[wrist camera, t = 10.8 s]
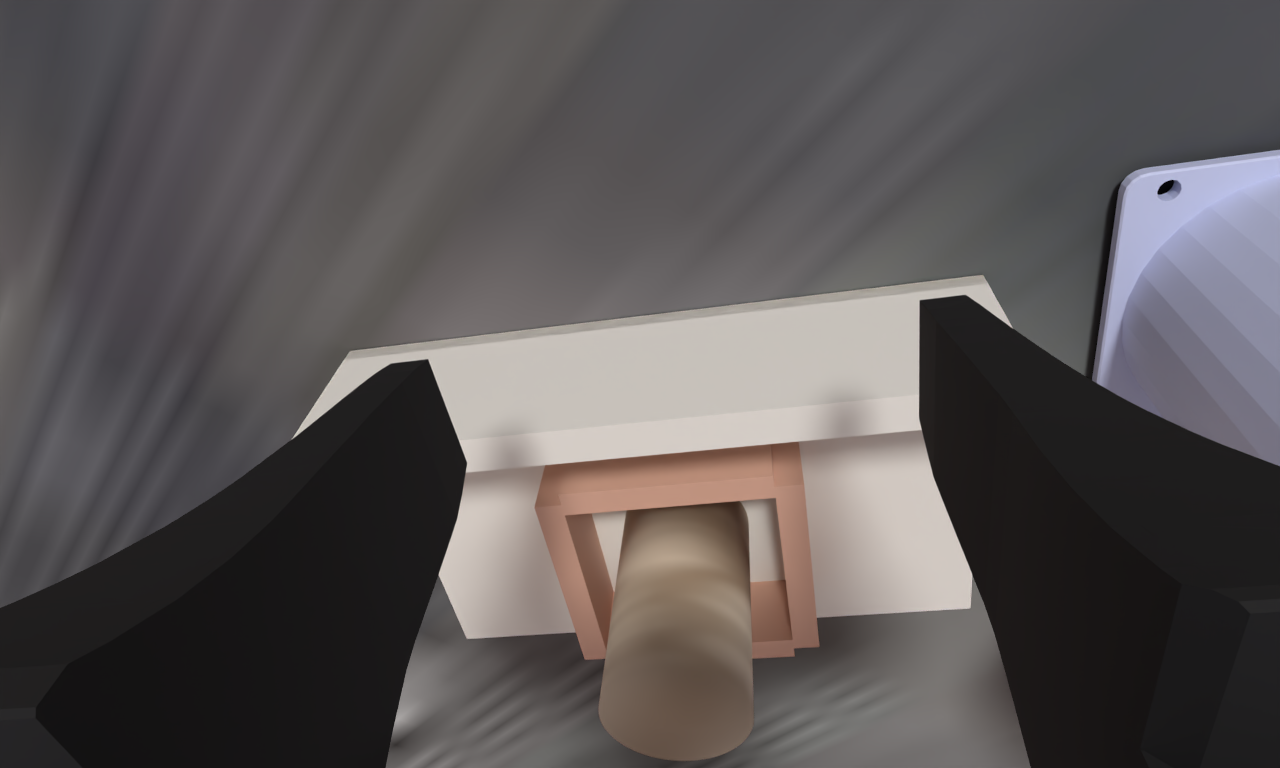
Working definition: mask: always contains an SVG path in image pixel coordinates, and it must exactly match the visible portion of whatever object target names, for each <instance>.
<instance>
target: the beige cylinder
mask: <svg viewBox="0 0 1280 768" xmlns="http://www.w3.org/2000/svg"><path fill="white" fill-rule="evenodd" d="M598 711H599V717H600V720H601V723H602V725H603V726H604V728H605V729H606V731H607V732H608V733H609V734H610V735H611V736H612V737H613V738H614V739H615V740H617V741H618V742H619V743H621V744H622V745H624V746H626V747H627V748H629V749H631V750H634V751H636V752H638V753H641V754H644V755H647V756H650V757H654V758H659V759H665V760H673V761H694V760H703V759H709V758H713V757H716V756H720V755H722V754H725V753H727V752H729V751H731V750H733V749H735V748H736V747H738V746H739V745H740V744H741V743H743V742H744V741H745V740H746V738H747V737H748V736H749V734H750V732H751V731H752V728H753V724H754V700H753V663H752V626H751V589H750V552H749V522H748V516H747V513H746V510H745V508H744V506H743V505H742V503H741V502H740V501H733V502H721V503H709V504H697V505H685V506H673V507H661V508H649V509H637V510H627V511H626V516H625V523H624V530H623V537H622V544H621V551H620V558H619V565H618V572H617V579H616V586H615V594H614V601H613V608H612V615H611V622H610V629H609V636H608V643H607V650H606V657H605V664H604V671H603V679H602V686H601V693H600V700H599V708H598Z"/></svg>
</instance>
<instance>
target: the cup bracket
mask: <svg viewBox="0 0 1280 768" xmlns="http://www.w3.org/2000/svg"><path fill="white" fill-rule="evenodd" d="M959 295H967V296H968V297H970V298H971V299H973V300H974V301H976V302H977V303H979V304H980V305H981V306H983V307H984V308H985V309H987V310H988V311H990V312H991V313H992V314H994V315H995V316H996V317H998V318H999V319H1000V320H1002V321H1003V322H1005V323H1006V324H1007V325H1009V326H1010V327H1012V326H1011V324H1010V322H1009V320H1008V319H1007V317H1006V315H1005V313H1004V312H1003V310H1002V308H1001V306H1000V304H999V303H998V301H997V299H996V297H995V295H994V294H993V292H992V290H991V288H990V286H989V285H988V283H987V281H986V279H985V278H984V276H983V275H978V276H969V277H961V278H953V279H944V280H936V281H928V282H919V283H911V284H903V285H894V286H886V287H878V288H870V289H861V290H853V291H845V292H836V293H828V294H820V295H811V296H803V297H795V298H786V299H778V300H770V301H761V302H753V303H745V304H737V305H728V306H720V307H712V308H703V309H695V310H687V311H678V312H670V313H662V314H653V315H645V316H637V317H629V318H620V319H612V320H604V321H595V322H587V323H579V324H570V325H562V326H554V327H545V328H537V329H529V330H520V331H512V332H504V333H496V334H487V335H479V336H471V337H462V338H454V339H446V340H437V341H429V342H421V343H412V344H404V345H396V346H387V347H379V348H371V349H363V350H354V351H350V352H349V353H348V355H347V356H346V358H345V359H344V361H343V362H342V364H341V365H340V367H339V368H338V370H337V371H336V373H335V374H334V376H333V377H332V379H331V380H330V382H329V384H328V385H327V387H326V388H325V390H324V391H323V393H322V394H321V396H320V397H319V399H318V400H317V402H316V403H315V405H314V406H313V408H312V409H311V411H310V412H309V414H308V416H307V417H306V419H305V420H304V422H303V423H302V425H301V426H300V428H299V429H298V431H297V432H296V434H295V435H294V437H296V436H297V435H298V434H299V433H301V432H302V431H303V430H304V429H306V428H307V427H308V426H309V425H311V424H312V423H313V422H314V421H316V420H317V419H318V418H319V417H321V416H322V415H323V414H324V413H326V412H327V411H328V410H329V409H331V408H332V407H333V406H334V405H336V404H337V403H338V402H339V401H340V400H342V399H343V398H344V397H345V396H347V395H348V394H349V393H350V392H352V391H353V390H354V389H355V388H357V387H358V386H359V385H361V384H362V383H363V382H364V381H366V380H367V379H368V378H370V377H371V376H373V375H374V374H375V373H377V372H378V371H380V370H381V369H383V368H384V367H386V366H387V365H389V364H391V363H399V362H407V361H416V360H424V359H428V360H429V363H430V366H431V368H432V371H433V373H434V376H435V379H436V381H437V384H438V387H439V389H440V392H441V395H442V397H443V400H444V403H445V405H446V408H447V411H448V413H449V416H450V418H451V421H452V424H453V426H454V429H455V432H456V434H457V437H458V440H459V442H460V445H461V448H462V450H463V453H464V456H465V458H466V461H467V468H466V474H465V480H464V486H463V492H462V497H461V502H460V507H459V512H458V517H457V521H456V524H455V527H454V530H453V533H452V536H451V539H450V542H449V545H448V548H447V551H446V554H445V557H444V560H443V563H442V566H441V569H440V572H439V577H440V579H441V581H442V583H443V586H444V588H445V590H446V592H447V595H448V597H449V599H450V601H451V604H452V606H453V608H454V611H455V613H456V615H457V617H458V620H459V622H460V624H461V626H462V629H463V631H464V633H465V635H466V638H467V639H475V638H491V637H508V636H524V635H540V634H557V633H573V632H576V634H577V637H578V640H579V644H580V647H581V650H582V653H583V656H584V659H585V660H592V659H605V657H606V650H607V643H608V636H609V629H610V622H611V615H612V608H613V601H614V594H615V586H616V579H617V572H618V565H619V558H620V551H621V544H622V537H623V530H624V523H625V516H626V511H627V510H637V509H649V508H661V507H673V506H685V505H697V504H709V503H721V502H733V501H740V502H741V503H742V505H743V506H744V508H745V510H746V513H747V516H748V522H749V552H750V589H751V626H752V659H756V658H775V657H793V656H795V654H794V648H808V647H819V637H818V626H817V618H820V617H836V616H853V615H869V614H886V613H902V612H918V611H935V610H951V609H968V608H970V607H971V588H972V572H971V570H970V567H969V565H968V562H967V560H966V558H965V555H964V553H963V550H962V548H961V545H960V543H959V540H958V538H957V535H956V533H955V530H954V528H953V525H952V523H951V520H950V518H949V515H948V513H947V510H946V508H945V505H944V503H943V500H942V498H941V495H940V493H939V490H938V487H937V485H936V482H935V480H934V477H933V473H932V469H931V465H930V462H929V458H928V454H927V450H926V446H925V441H924V437H923V433H922V429H921V425H920V420H919V305H920V300H925V299H934V298H942V297H950V296H959ZM294 437H293V438H294ZM293 438H292V439H293Z"/></svg>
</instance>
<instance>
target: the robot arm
mask: <svg viewBox="0 0 1280 768" xmlns="http://www.w3.org/2000/svg"><path fill="white" fill-rule="evenodd" d="M1169 180H1174V184H1173V186H1172V188H1171V189H1170V190H1169V191H1168V192H1167V193H1164V194H1161V195H1158V194H1157V191H1158V189H1159V187H1160V186H1161V185H1162V184H1163V183H1164V182H1167V181H1169ZM919 420H920V425H921V429H922V433H923V437H924V441H925V446H926V450H927V454H928V458H929V462H930V465H931V469H932V473H933V477H934V480H935V482H936V485H937V487H938V490H939V493H940V495H941V498H942V500H943V503H944V505H945V508H946V510H947V513H948V515H949V518H950V520H951V523H952V525H953V528H954V530H955V533H956V535H957V538H958V540H959V543H960V545H961V548H962V550H963V553H964V555H965V558H966V560H967V562H968V565H969V567H970V570H971V572H972V575H973V577H974V580H975V582H976V585H977V587H978V590H979V592H980V595H981V597H982V600H983V602H984V605H985V607H986V610H987V613H988V616H989V619H990V622H991V625H992V628H993V630H994V633H995V637H996V640H997V644H998V647H999V651H1000V654H1001V658H1002V662H1003V665H1004V669H1005V672H1006V676H1007V680H1008V683H1009V687H1010V690H1011V694H1012V697H1013V701H1014V705H1015V709H1016V713H1017V716H1018V720H1019V724H1020V728H1021V732H1022V735H1023V739H1024V743H1025V747H1026V751H1027V754H1028V758H1029V762H1030V766H1031V768H1280V150H1275V151H1267V152H1260V153H1253V154H1245V155H1238V156H1231V157H1223V158H1216V159H1208V160H1201V161H1194V162H1186V163H1179V164H1172V165H1164V166H1157V167H1149V168H1143V169H1140V170H1136V171H1134V172H1133V173H1131V174H1130V175H1128V176H1127V177H1126V178H1125V179H1124V181H1123V182H1122V183H1121V185H1120V188H1119V191H1118V198H1117V206H1116V213H1115V220H1114V227H1113V234H1112V241H1111V248H1110V256H1109V263H1108V270H1107V277H1106V284H1105V291H1104V298H1103V305H1102V313H1101V320H1100V327H1099V334H1098V341H1097V348H1096V355H1095V363H1094V370H1093V377H1092V380H1090V379H1089V378H1087V377H1085V376H1084V375H1082V374H1080V373H1079V372H1077V371H1076V370H1074V369H1072V368H1071V367H1069V366H1068V365H1066V364H1064V363H1063V362H1061V361H1060V360H1058V359H1057V358H1055V357H1054V356H1052V355H1050V354H1049V353H1048V352H1046V351H1045V350H1043V349H1042V348H1040V347H1039V346H1037V345H1036V344H1034V343H1033V342H1031V341H1030V340H1028V339H1027V338H1026V337H1024V336H1023V335H1021V334H1020V333H1019V332H1017V331H1016V330H1014V329H1013V328H1012V327H1010V326H1009V325H1007V324H1006V323H1005V322H1003V321H1002V320H1000V319H999V318H998V317H996V316H995V315H994V314H992V313H991V312H990V311H988V310H987V309H985V308H984V307H983V306H981V305H980V304H979V303H977V302H976V301H974V300H973V299H971V298H970V297H968V296H967V295H959V296H950V297H942V298H934V299H925V300H920V305H919ZM466 468H467V461H466V458H465V456H464V453H463V450H462V448H461V445H460V442H459V440H458V437H457V434H456V432H455V429H454V426H453V424H452V421H451V418H450V416H449V413H448V411H447V408H446V405H445V403H444V400H443V397H442V395H441V392H440V389H439V387H438V384H437V381H436V379H435V376H434V373H433V371H432V368H431V366H430V363H429V360H428V359H424V360H416V361H407V362H399V363H391V364H389V365H387V366H386V367H384V368H383V369H381V370H380V371H378V372H377V373H375V374H374V375H373V376H371V377H370V378H368V379H367V380H366V381H364V382H363V383H362V384H361V385H359V386H358V387H357V388H355V389H354V390H353V391H352V392H350V393H349V394H348V395H347V396H345V397H344V398H343V399H342V400H340V401H339V402H338V403H337V404H336V405H334V406H333V407H332V408H331V409H329V410H328V411H327V412H326V413H324V414H323V415H322V416H321V417H319V418H318V419H317V420H316V421H314V422H313V423H312V424H311V425H309V426H308V427H307V428H306V429H304V430H303V431H302V432H301V433H299V434H298V435H297V436H296V437H294V438H293V439H292V440H291V441H289V442H288V443H287V444H285V445H284V446H283V447H281V448H280V449H279V450H277V451H276V452H275V453H273V454H272V455H271V456H269V457H268V458H267V459H265V460H264V461H263V462H261V463H260V464H258V465H257V466H256V467H254V468H253V469H252V470H250V471H249V472H248V473H246V474H245V475H244V476H242V477H241V478H240V479H238V480H237V481H235V482H234V483H233V484H231V485H230V486H228V487H227V488H225V489H224V490H222V491H221V492H219V493H218V494H216V495H215V496H213V497H212V498H210V499H209V500H207V501H206V502H204V503H203V504H201V505H199V506H198V507H196V508H195V509H193V510H191V511H190V512H188V513H187V514H185V515H183V516H182V517H180V518H179V519H177V520H175V521H174V522H172V523H170V524H169V525H167V526H165V527H164V528H162V529H160V530H158V531H156V532H155V533H153V534H151V535H149V536H147V537H145V538H143V539H142V540H140V541H138V542H136V543H134V544H132V545H131V546H129V547H127V548H125V549H123V550H121V551H120V552H118V553H116V554H114V555H112V556H110V557H109V558H107V559H105V560H103V561H101V562H99V563H97V564H95V565H93V566H91V567H89V568H87V569H85V570H83V571H81V572H79V573H77V574H75V575H73V576H71V577H69V578H67V579H64V580H62V581H60V582H58V583H56V584H54V585H52V586H50V587H47V588H45V589H43V590H41V591H38V592H36V593H34V594H32V595H30V596H27V597H25V598H23V599H21V600H18V601H16V602H14V603H11V604H9V605H7V606H4V607H2V608H0V768H385V767H386V762H387V757H388V752H389V747H390V741H391V736H392V731H393V727H394V722H395V718H396V713H397V709H398V705H399V700H400V696H401V691H402V687H403V683H404V678H405V674H406V670H407V666H408V663H409V660H410V656H411V653H412V650H413V646H414V643H415V640H416V637H417V634H418V631H419V628H420V626H421V623H422V620H423V617H424V614H425V611H426V609H427V606H428V603H429V600H430V597H431V594H432V591H433V589H434V586H435V583H436V580H437V577H438V574H439V572H440V569H441V566H442V563H443V560H444V557H445V554H446V551H447V548H448V545H449V542H450V539H451V536H452V533H453V530H454V527H455V524H456V521H457V517H458V512H459V507H460V502H461V497H462V492H463V486H464V480H465V474H466Z"/></svg>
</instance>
